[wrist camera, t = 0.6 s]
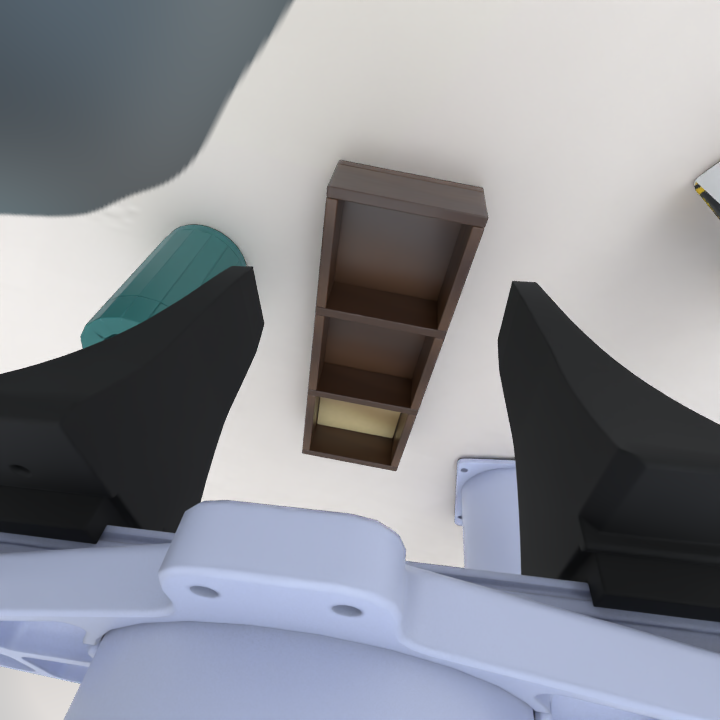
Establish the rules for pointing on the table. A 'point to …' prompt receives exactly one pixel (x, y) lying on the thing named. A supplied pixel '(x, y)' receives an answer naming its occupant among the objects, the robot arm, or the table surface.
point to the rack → (384, 305)
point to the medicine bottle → (710, 188)
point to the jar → (164, 279)
